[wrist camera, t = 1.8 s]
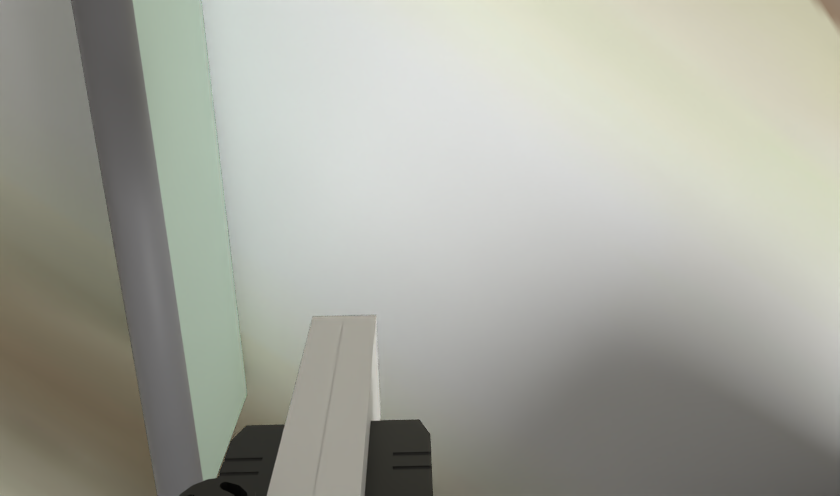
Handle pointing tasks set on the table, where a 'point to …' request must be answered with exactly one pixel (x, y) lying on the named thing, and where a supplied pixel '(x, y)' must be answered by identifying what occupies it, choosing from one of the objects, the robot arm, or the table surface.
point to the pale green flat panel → (167, 225)
